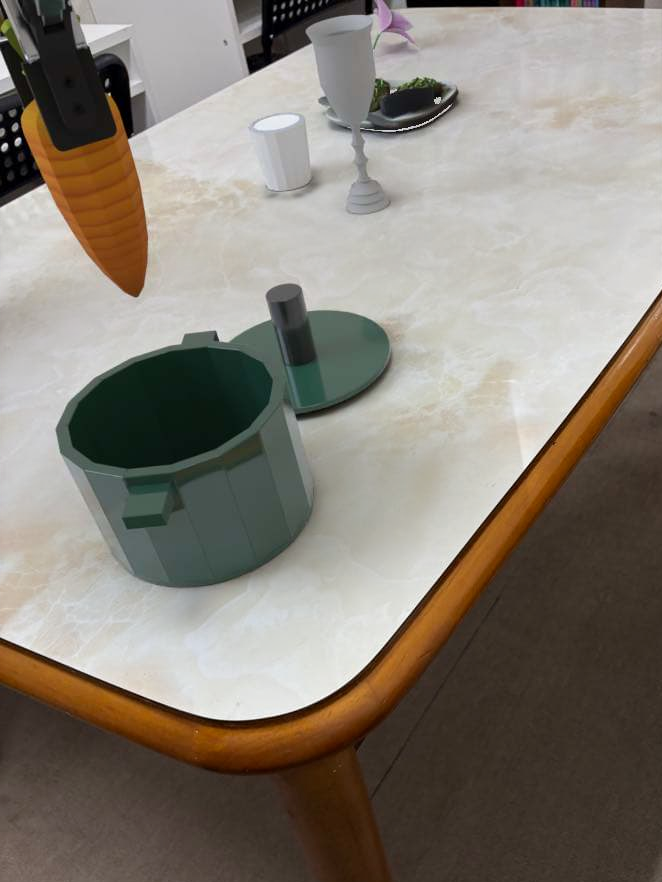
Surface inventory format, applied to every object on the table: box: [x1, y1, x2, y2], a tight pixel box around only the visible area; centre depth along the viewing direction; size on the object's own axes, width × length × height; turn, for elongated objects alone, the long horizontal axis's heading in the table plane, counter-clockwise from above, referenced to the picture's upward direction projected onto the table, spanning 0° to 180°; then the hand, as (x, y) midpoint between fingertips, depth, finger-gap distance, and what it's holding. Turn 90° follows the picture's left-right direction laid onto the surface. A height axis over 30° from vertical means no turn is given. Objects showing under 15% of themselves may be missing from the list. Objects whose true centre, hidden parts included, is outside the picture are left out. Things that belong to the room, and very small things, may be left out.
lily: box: [372, 0, 420, 51], centre depth 139 cm, size 12×12×10 cm
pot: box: [55, 330, 314, 588], centre depth 58 cm, size 15×20×10 cm
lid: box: [228, 282, 392, 415], centre depth 71 cm, size 16×16×7 cm
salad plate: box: [317, 76, 460, 134], centre depth 118 cm, size 19×18×5 cm
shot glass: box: [247, 112, 313, 192], centre depth 103 cm, size 7×7×7 cm
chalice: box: [305, 14, 390, 215], centre depth 91 cm, size 7×7×18 cm
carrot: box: [1, 13, 149, 299], centre depth 46 cm, size 5×5×15 cm
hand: (71, 125), depth 45 cm, fingers closed on carrot, 4 cm apart
